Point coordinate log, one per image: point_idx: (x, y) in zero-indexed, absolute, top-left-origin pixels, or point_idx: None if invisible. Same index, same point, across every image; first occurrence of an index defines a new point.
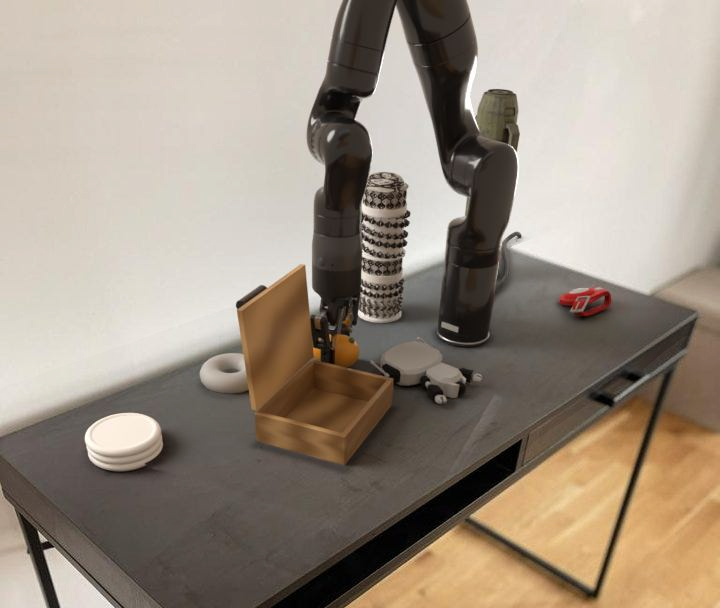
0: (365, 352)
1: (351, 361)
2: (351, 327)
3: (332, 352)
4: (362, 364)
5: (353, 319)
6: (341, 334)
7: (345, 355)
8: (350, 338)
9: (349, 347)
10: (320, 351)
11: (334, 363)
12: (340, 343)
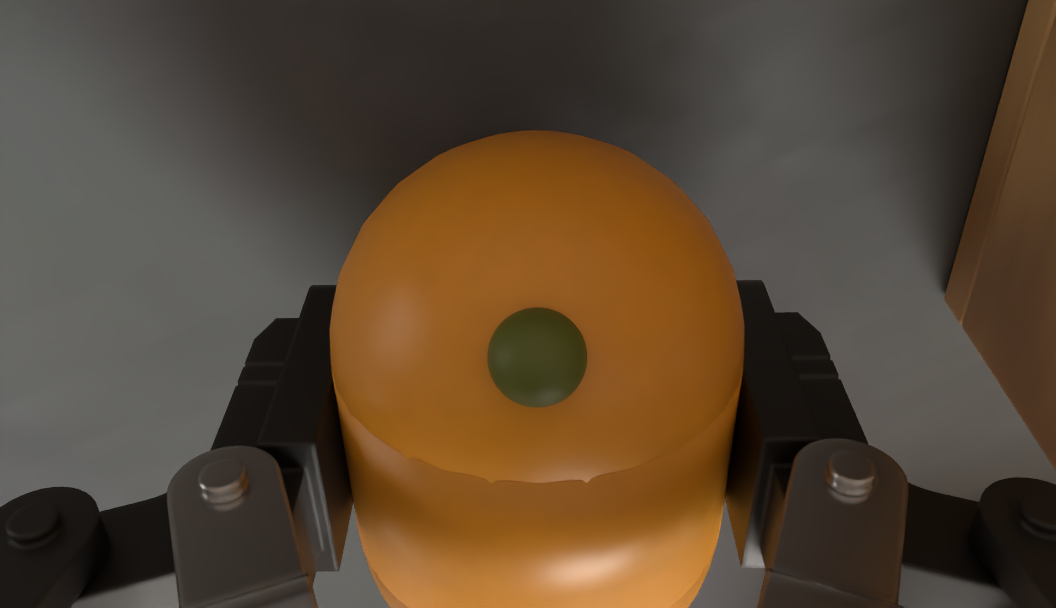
0: (5, 174)
1: (647, 165)
2: (207, 506)
3: (812, 421)
4: (257, 95)
5: (68, 587)
6: (329, 513)
7: (722, 270)
8: (560, 393)
9: (652, 304)
10: (721, 519)
11: None
12: (670, 440)
